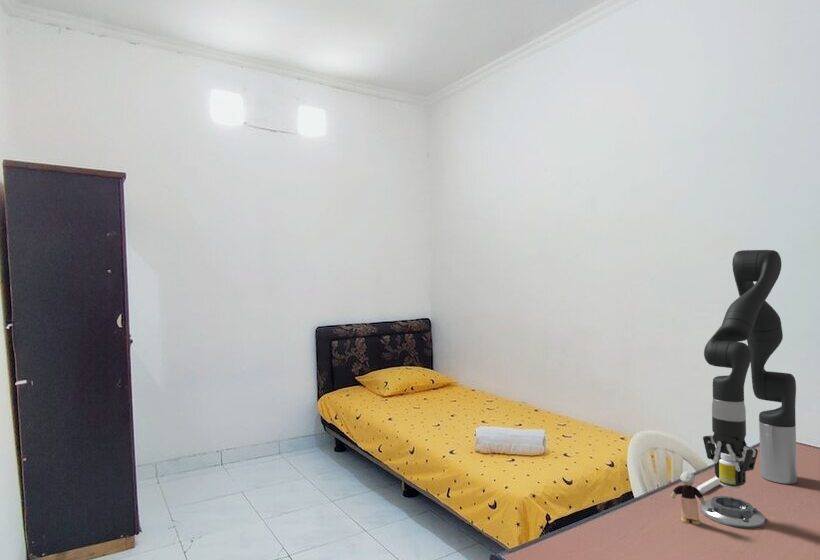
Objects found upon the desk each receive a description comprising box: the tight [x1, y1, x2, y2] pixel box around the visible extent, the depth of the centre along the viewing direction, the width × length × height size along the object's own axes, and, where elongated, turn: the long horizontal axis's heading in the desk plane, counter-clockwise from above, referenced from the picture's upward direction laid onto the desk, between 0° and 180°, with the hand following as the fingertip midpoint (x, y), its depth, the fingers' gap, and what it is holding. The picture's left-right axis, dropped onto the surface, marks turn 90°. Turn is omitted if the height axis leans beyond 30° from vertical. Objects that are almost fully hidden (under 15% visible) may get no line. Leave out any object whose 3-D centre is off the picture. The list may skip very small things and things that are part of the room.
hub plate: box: [700, 495, 765, 529], centre depth 130 cm, size 14×14×3 cm
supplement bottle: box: [719, 452, 741, 489], centre depth 130 cm, size 5×5×8 cm
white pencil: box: [696, 475, 721, 495], centre depth 147 cm, size 3×2×16 cm
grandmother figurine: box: [670, 470, 706, 525], centre depth 127 cm, size 8×4×13 cm, turn 71°
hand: (729, 480), depth 130 cm, fingers closed on supplement bottle, 4 cm apart
